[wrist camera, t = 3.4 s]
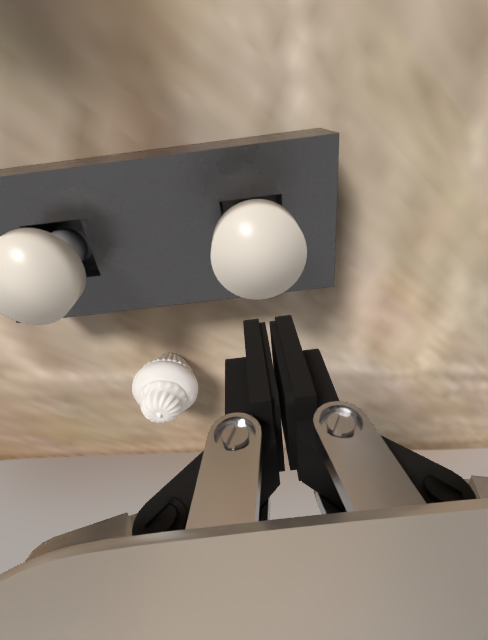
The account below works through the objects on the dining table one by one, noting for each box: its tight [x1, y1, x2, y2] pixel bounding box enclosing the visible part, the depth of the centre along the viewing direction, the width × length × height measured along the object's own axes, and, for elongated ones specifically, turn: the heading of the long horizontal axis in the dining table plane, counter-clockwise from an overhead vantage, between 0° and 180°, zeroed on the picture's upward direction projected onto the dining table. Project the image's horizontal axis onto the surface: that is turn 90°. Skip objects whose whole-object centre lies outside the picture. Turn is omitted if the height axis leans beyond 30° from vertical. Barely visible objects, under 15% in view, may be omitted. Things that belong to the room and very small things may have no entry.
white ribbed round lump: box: [132, 353, 198, 424], centre depth 32 cm, size 6×6×7 cm
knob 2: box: [211, 199, 307, 300], centre depth 21 cm, size 5×5×6 cm
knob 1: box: [0, 228, 88, 325], centre depth 21 cm, size 5×5×6 cm
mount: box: [0, 128, 339, 323], centre depth 25 cm, size 24×10×5 cm, turn 96°
